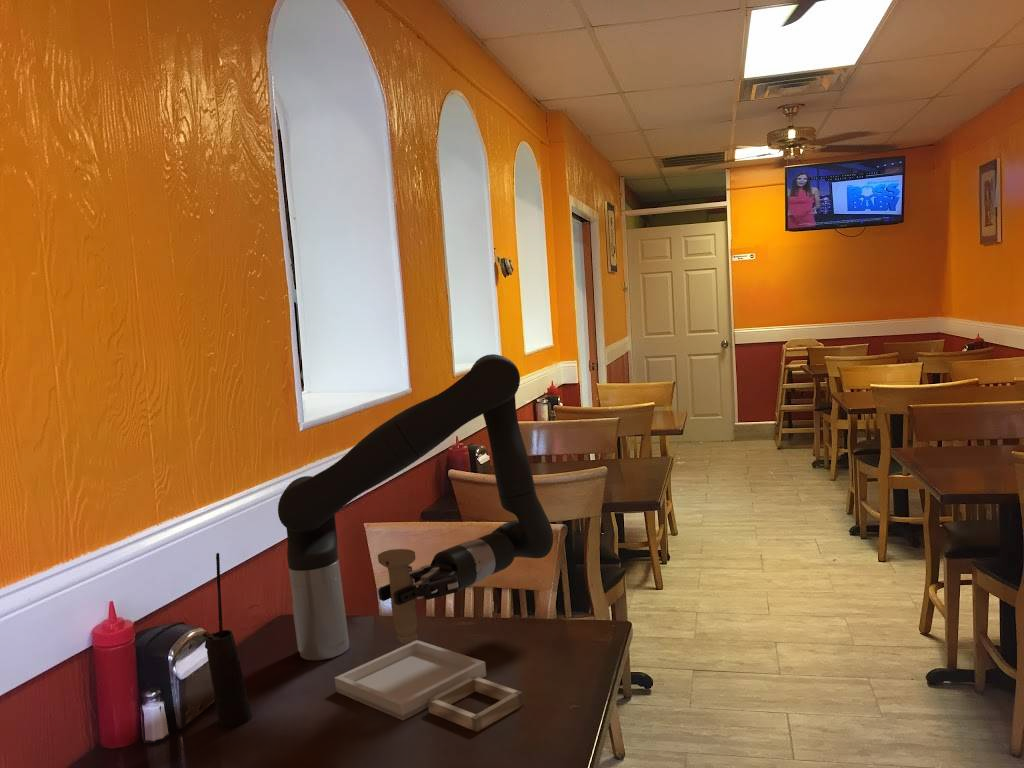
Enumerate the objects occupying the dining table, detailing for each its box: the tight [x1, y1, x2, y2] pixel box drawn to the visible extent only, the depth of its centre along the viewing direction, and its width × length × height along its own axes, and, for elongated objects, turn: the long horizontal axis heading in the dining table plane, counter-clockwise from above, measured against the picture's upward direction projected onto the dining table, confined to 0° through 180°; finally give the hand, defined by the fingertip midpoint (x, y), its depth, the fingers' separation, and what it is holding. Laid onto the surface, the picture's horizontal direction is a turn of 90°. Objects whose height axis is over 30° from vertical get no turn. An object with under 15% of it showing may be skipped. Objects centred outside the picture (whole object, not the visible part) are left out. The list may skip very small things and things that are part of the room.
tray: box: [334, 639, 487, 721], centre depth 146 cm, size 18×18×2 cm
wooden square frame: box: [427, 676, 525, 733], centre depth 134 cm, size 11×10×2 cm
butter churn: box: [202, 552, 253, 729], centre depth 138 cm, size 9×10×28 cm
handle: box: [377, 548, 418, 644], centre depth 144 cm, size 5×6×15 cm
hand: (388, 597), depth 142 cm, fingers closed on handle, 3 cm apart
